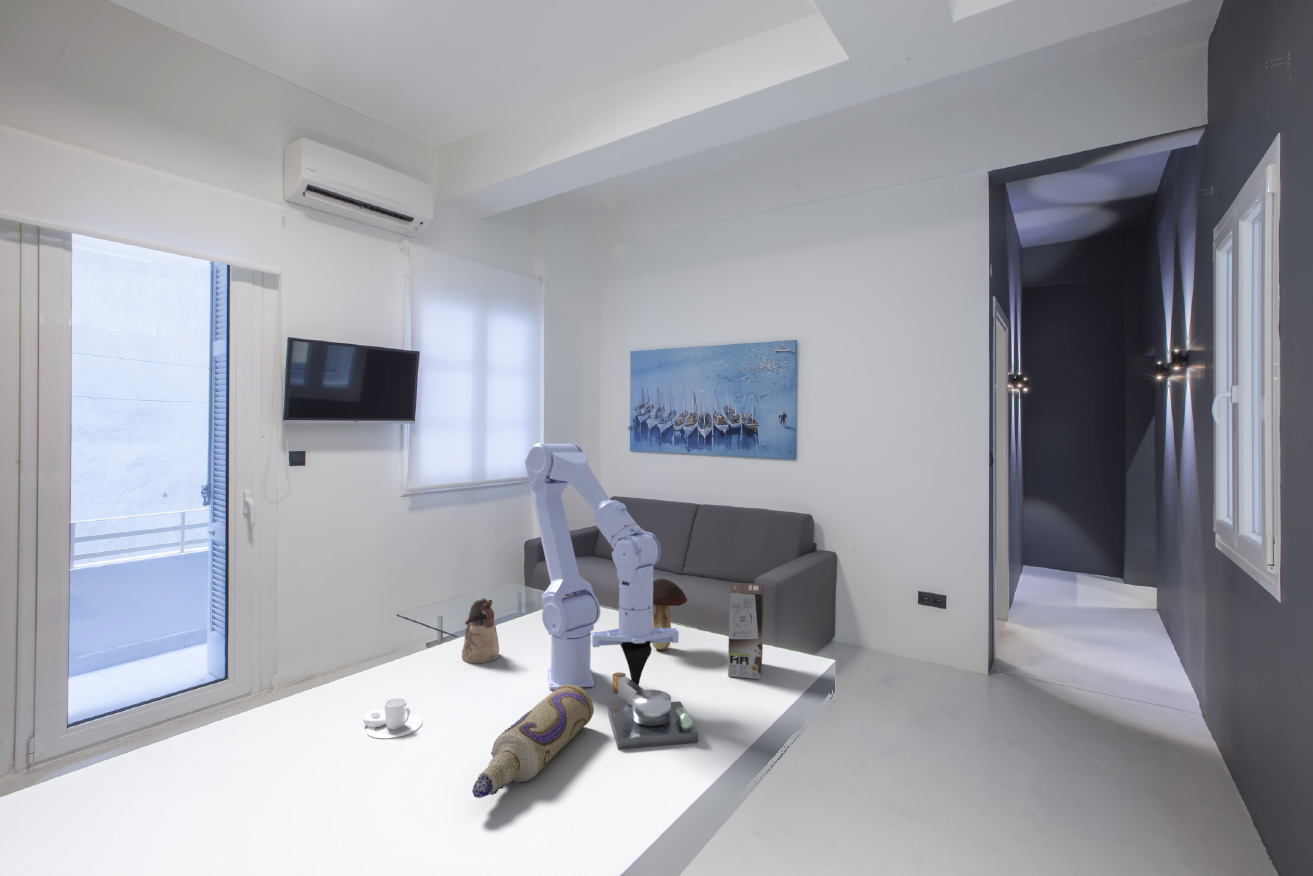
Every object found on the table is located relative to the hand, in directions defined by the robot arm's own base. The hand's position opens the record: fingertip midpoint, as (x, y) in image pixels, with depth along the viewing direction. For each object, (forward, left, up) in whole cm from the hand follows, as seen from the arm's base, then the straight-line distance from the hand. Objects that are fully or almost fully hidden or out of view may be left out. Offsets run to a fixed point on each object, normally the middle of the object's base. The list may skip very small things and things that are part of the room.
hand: (634, 686), depth 106 cm
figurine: (-27, -27, -3) cm, 38 cm away
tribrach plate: (+9, +1, -3) cm, 9 cm away
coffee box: (-12, +24, -3) cm, 27 cm away
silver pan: (+5, 0, -1) cm, 5 cm away
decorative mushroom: (-26, +10, -3) cm, 28 cm away
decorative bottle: (+15, -17, -4) cm, 23 cm away
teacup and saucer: (-2, -38, -4) cm, 38 cm away
